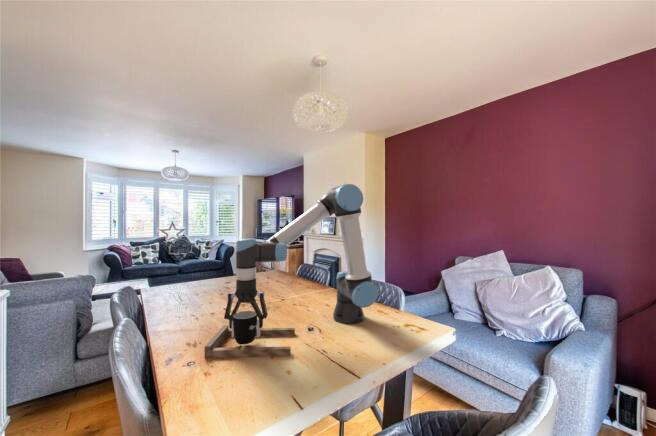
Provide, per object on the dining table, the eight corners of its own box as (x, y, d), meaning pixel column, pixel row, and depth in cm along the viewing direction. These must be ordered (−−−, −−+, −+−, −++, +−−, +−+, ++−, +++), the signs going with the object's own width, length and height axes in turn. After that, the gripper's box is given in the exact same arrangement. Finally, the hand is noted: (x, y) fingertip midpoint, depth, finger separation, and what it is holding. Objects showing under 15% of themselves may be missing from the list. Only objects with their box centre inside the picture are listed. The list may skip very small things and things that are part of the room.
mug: (250, 347, 98) (249, 319, 98) (228, 345, 100) (228, 317, 100) (264, 333, 109) (264, 308, 109) (245, 331, 111) (244, 307, 111)
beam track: (294, 333, 115) (294, 324, 115) (289, 356, 95) (289, 344, 96) (223, 334, 114) (223, 325, 114) (204, 357, 94) (204, 346, 94)
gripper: (275, 276, 109) (275, 331, 109) (221, 276, 108) (221, 332, 108) (272, 280, 101) (272, 340, 101) (214, 280, 101) (214, 341, 100)
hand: (246, 336), depth 104 cm, fingers closed on mug, 9 cm apart
